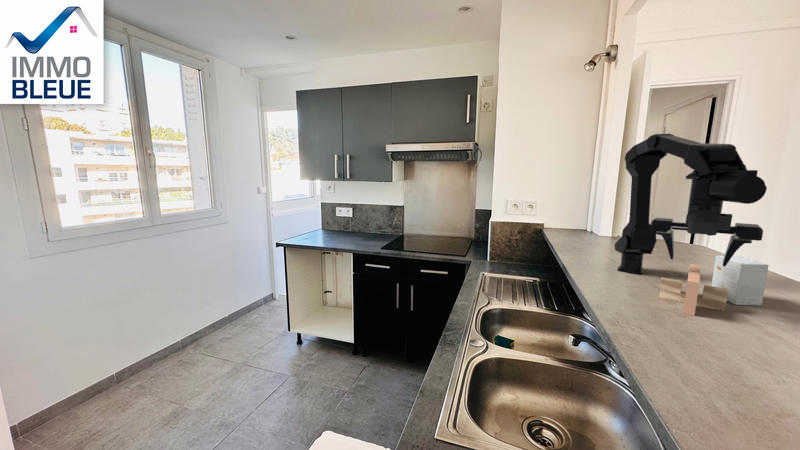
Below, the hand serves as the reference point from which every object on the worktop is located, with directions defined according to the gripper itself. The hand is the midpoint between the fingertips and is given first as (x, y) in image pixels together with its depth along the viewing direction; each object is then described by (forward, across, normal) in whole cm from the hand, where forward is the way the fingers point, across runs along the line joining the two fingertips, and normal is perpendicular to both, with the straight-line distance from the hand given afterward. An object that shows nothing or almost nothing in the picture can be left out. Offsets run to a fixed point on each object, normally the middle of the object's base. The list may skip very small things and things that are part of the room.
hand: (696, 262), depth 75 cm
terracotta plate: (+11, 0, 0) cm, 11 cm away
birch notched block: (+11, 0, 0) cm, 11 cm away
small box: (+11, +8, +10) cm, 17 cm away
